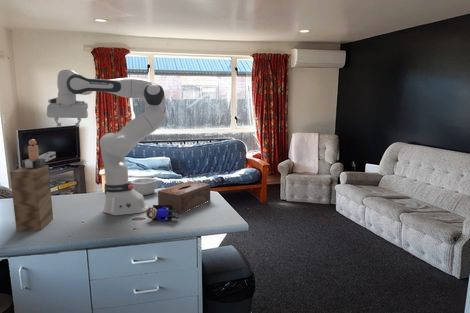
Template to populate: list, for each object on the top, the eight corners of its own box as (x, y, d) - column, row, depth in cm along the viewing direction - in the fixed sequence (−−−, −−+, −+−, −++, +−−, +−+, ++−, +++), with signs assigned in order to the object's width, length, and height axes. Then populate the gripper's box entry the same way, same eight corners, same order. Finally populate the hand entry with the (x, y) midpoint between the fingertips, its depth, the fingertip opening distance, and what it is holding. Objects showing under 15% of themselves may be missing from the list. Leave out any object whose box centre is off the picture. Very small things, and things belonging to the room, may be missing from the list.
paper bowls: (135, 190, 215) (134, 177, 214) (159, 189, 215) (159, 177, 214) (128, 197, 200) (128, 183, 199) (155, 196, 200) (154, 183, 199)
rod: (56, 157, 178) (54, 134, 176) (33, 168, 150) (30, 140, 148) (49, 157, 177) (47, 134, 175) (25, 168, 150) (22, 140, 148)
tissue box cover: (179, 214, 170) (179, 195, 169) (158, 209, 178) (157, 191, 176) (210, 201, 192) (210, 184, 190) (190, 197, 199) (189, 181, 198)
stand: (53, 218, 163) (47, 158, 158) (41, 230, 149) (35, 164, 145) (30, 220, 162) (24, 159, 157) (16, 231, 148) (9, 164, 143)
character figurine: (177, 224, 158) (145, 223, 159) (181, 217, 165) (150, 216, 166) (176, 208, 156) (144, 207, 157) (180, 202, 163) (149, 201, 164)
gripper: (89, 101, 190) (89, 126, 192) (49, 100, 187) (50, 126, 189) (85, 100, 184) (86, 126, 186) (44, 100, 181) (46, 126, 183)
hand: (68, 126), depth 187 cm, fingers open, 8 cm apart
